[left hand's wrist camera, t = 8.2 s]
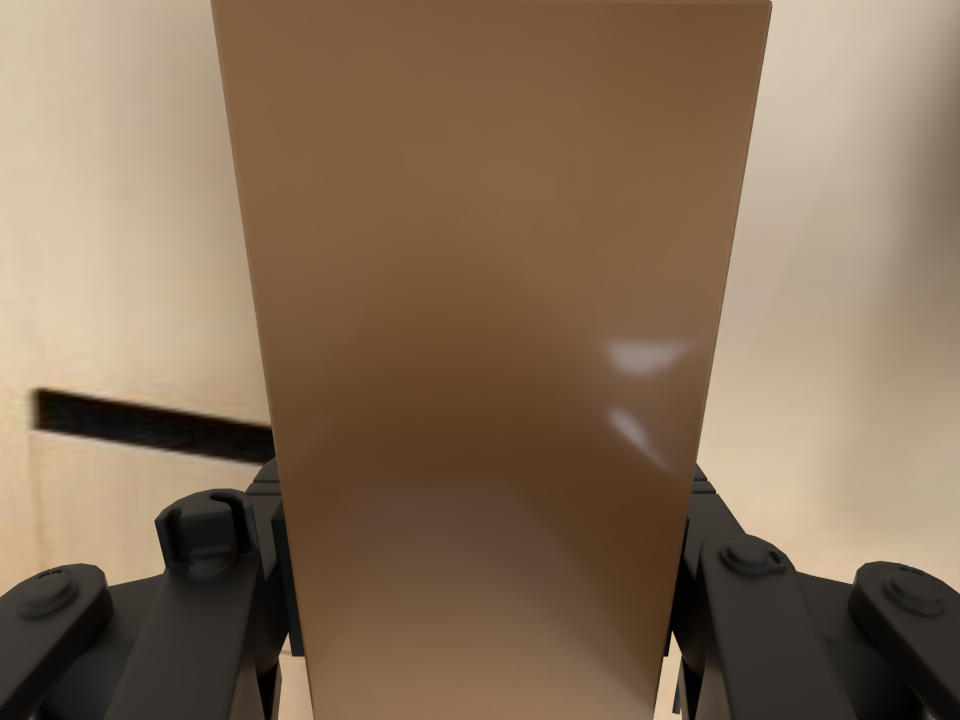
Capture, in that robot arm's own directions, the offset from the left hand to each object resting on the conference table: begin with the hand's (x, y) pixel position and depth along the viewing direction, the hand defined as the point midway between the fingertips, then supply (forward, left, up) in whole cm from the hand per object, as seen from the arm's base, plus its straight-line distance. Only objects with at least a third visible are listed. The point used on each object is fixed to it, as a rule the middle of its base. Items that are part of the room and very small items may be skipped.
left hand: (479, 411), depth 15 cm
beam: (+17, +19, -1) cm, 25 cm away
